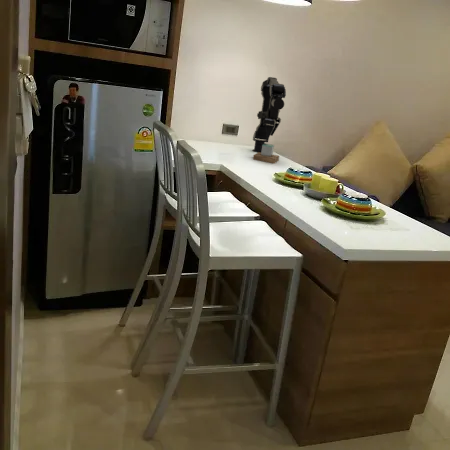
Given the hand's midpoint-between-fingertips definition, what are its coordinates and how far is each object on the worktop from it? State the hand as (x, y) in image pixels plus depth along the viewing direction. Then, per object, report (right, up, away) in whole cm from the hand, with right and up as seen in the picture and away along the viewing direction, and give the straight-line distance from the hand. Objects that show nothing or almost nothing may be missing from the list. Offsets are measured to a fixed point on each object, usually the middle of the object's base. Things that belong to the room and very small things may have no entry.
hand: (269, 136), depth 284 cm
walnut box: (-2, -13, +4) cm, 14 cm away
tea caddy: (-1, -10, +3) cm, 11 cm away
